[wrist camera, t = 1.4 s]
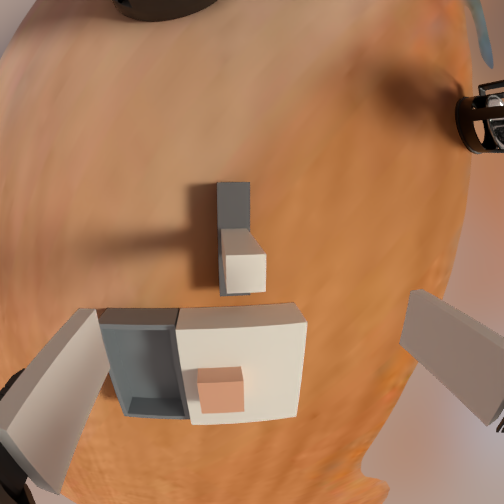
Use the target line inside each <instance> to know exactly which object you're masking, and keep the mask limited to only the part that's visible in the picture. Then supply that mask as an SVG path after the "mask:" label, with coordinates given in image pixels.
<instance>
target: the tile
mask: <svg viewBox="0 0 504 504" xmlns="http://www.w3.org/2000/svg"><path fill="white" fill-rule="evenodd" d="M197 386H198V393H199V399H200V406H201V412H202V414H208V413H231V412H244V380H243V375H242V369H241V366H239V367H221V368H198V374H197Z"/></svg>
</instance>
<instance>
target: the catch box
mask: <svg viewBox="0 0 504 504" xmlns="http://www.w3.org/2000/svg"><path fill="white" fill-rule="evenodd" d="M178 316H179V308H144V309H141V308H107V309H106V310H105V311H104V313H103V314H102V315H101V317H100V318H99V319H98V322H99V326H100V330H101V335H102V339H103V343H104V346H105V350H106V354H107V357H108V361H109V364H110V370H109V374H110V377H111V380H112V383H113V386H114V389H115V392H116V395H117V398H118V400H119V403H120V406H121V408H122V411H123V413H124V416H129V417H141V418H158V419H190V414H189V409H188V404H187V399H186V393H185V388H184V382H183V377H182V371H181V364H180V358H179V352H178V345H177V338H176V330H175V329H176V325H177V320H178Z"/></svg>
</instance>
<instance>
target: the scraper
mask: <svg viewBox="0 0 504 504" xmlns="http://www.w3.org/2000/svg"><path fill="white" fill-rule="evenodd" d="M217 227H218V264H219V288H220V296H238V295H250V293H252V292H266V253H265V252H264V251H263V249H262V248H261V247H260V245H259V244H258V243H257V241H256V240H255V238H254V237H253V236H252V234H251V233H250V182H220V183H217Z"/></svg>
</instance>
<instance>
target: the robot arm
mask: <svg viewBox="0 0 504 504" xmlns="http://www.w3.org/2000/svg"><path fill="white" fill-rule="evenodd" d="M112 1H113V3H114V5H115V7H116V8H117V9H118V11H119V12H121V13H122V14H123V15H125V16H127V17H130V18H133V19H137V20H143V21H162V20H170V19H175V18H180V17H184V16H187V15H190V14H193V13H195V12H198V11H200V10H202V9H204V8H206V7H208V6H210V5H211V4H213V3H214V2H216V1H217V0H112ZM399 344H400V345H401V346H402V347H403V348H404V349H405V350H407V351H408V352H409V353H410V354H411V355H412V356H413V357H414V358H415V359H416V360H417V361H419V362H420V363H421V364H422V365H423V366H424V367H425V368H426V369H427V370H428V371H429V372H430V373H432V374H433V375H434V376H435V377H436V378H437V379H438V380H439V381H440V382H441V383H442V384H443V385H444V386H446V388H448V389H449V390H450V391H451V392H452V393H453V394H454V395H455V396H456V397H457V398H458V399H459V400H460V401H461V402H462V403H463V404H464V405H465V406H466V407H467V408H468V409H469V410H470V411H471V412H473V413H474V414H475V415H476V416H477V417H478V418H479V419H480V420H481V421H482V422H483V423H484V424H485V425H486V426H488V425H490V424H491V423H492V422H494V421H495V420H496V419H497V418H498V417H499V415H500V414H501V412H502V411H503V409H504V337H502V336H501V335H499V334H498V333H496V332H494V331H493V330H491V329H489V328H488V327H486V326H485V325H483V324H481V323H480V322H478V321H476V320H475V319H473V318H471V317H470V316H468V315H466V314H465V313H463V312H461V311H460V310H458V309H456V308H454V307H453V306H451V305H449V304H448V303H446V302H444V301H442V300H441V299H439V298H437V297H435V296H434V295H432V294H430V293H428V292H427V291H425V290H423V289H420V290H413V291H410V297H409V302H408V307H407V312H406V317H405V321H404V326H403V330H402V334H401V338H400V342H399ZM109 370H110V364H109V361H108V357H107V354H106V350H105V346H104V343H103V339H102V335H101V330H100V326H99V322H98V317H97V313H96V309H82V308H79V309H78V310H77V311H76V312H75V313H74V314H73V316H72V317H71V318H70V319H69V320H68V321H67V322H66V323H65V324H64V325H63V326H62V327H61V328H60V330H59V331H58V332H57V333H56V334H55V335H54V336H53V337H52V338H51V340H50V341H49V342H48V343H47V344H46V345H45V346H44V348H43V349H42V350H41V351H40V352H39V353H38V354H37V356H36V357H35V358H34V359H33V360H32V362H31V363H30V364H29V365H28V366H27V368H26V369H24V368H23V369H22V370H20V371H19V372H17V373H16V374H14V375H13V376H12V377H11V378H10V379H9V381H8V382H7V383H6V384H5V387H3V388H2V389H1V391H0V504H35V501H34V499H33V496H32V494H31V491H30V489H29V488H28V486H27V484H25V482H26V479H27V477H29V478H30V479H31V480H32V481H33V482H34V483H35V484H36V485H37V487H39V488H41V489H44V490H46V491H49V492H52V493H54V494H57V495H59V494H60V491H61V488H62V485H63V482H64V479H65V476H66V473H67V470H68V468H69V465H70V462H71V459H72V457H73V454H74V451H75V449H76V446H77V444H78V441H79V438H80V436H81V433H82V431H83V429H84V426H85V424H86V421H87V419H88V416H89V414H90V412H91V409H92V407H93V405H94V403H95V400H96V398H97V396H98V394H99V391H100V389H101V387H102V385H103V383H104V380H105V378H106V376H107V374H108V372H109ZM503 425H504V417H503V419H502V421H501V422H500V424H499V425H498V427H497V429H496V432H499V431H500V429H501V428H502V426H503ZM502 433H504V428H503V429H502Z"/></svg>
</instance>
